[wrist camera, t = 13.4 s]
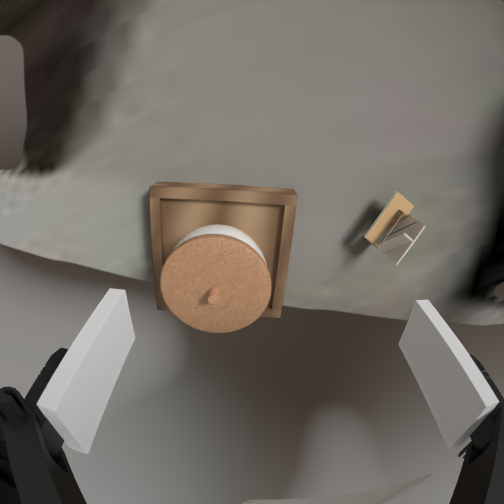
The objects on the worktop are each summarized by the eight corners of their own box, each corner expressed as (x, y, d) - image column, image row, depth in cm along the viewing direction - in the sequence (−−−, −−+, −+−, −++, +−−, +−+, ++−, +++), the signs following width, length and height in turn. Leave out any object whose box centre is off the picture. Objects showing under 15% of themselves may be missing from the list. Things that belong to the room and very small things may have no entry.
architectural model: (353, 227, 36) (375, 252, 30) (384, 184, 34) (413, 200, 27) (372, 240, 37) (395, 266, 30) (401, 199, 35) (431, 217, 28)
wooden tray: (293, 189, 34) (297, 195, 31) (278, 305, 40) (280, 317, 38) (156, 182, 33) (149, 187, 30) (162, 297, 40) (157, 309, 37)
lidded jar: (158, 244, 34) (132, 285, 26) (231, 192, 32) (225, 220, 23) (212, 307, 38) (205, 358, 29) (283, 265, 36) (294, 311, 27)
